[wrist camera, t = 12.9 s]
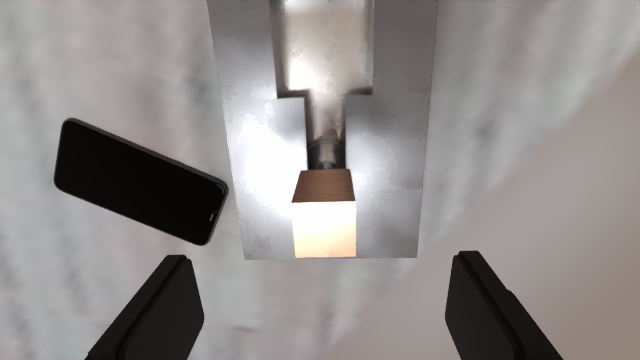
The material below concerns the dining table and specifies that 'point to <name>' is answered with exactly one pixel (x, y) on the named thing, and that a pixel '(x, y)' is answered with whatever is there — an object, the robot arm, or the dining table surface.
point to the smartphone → (138, 183)
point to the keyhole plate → (326, 111)
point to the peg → (324, 204)
